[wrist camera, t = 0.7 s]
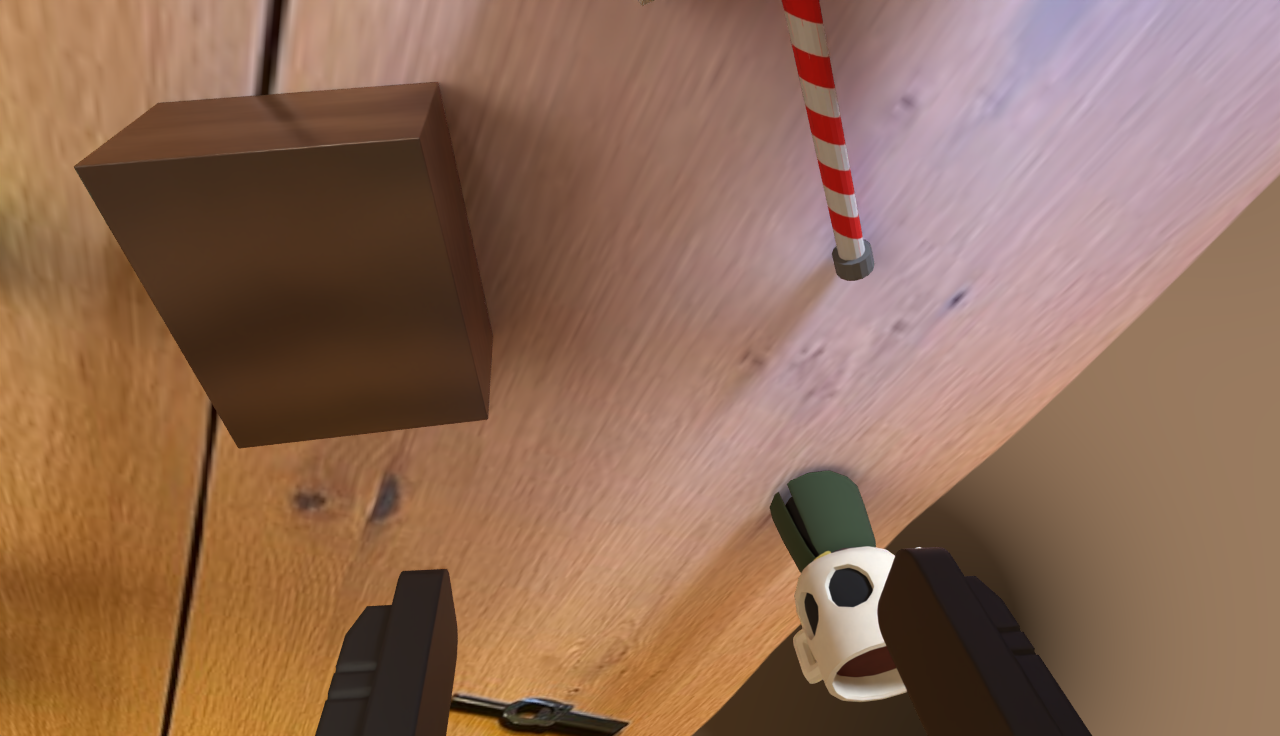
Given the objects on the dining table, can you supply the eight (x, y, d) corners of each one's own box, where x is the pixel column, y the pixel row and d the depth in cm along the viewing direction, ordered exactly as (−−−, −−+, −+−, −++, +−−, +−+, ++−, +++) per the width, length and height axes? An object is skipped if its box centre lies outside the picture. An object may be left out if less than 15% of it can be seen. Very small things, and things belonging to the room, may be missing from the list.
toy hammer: (957, 212, 35) (1029, 275, 30) (745, 302, 37) (780, 376, 32) (884, -400, 21) (997, -470, 16) (545, -205, 23) (552, -214, 18)
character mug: (831, 427, 44) (922, 606, 34) (900, 463, 47) (1002, 636, 37) (724, 524, 49) (776, 706, 39) (793, 551, 52) (858, 725, 42)
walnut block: (157, 102, 27) (72, 166, 22) (438, 81, 28) (419, 137, 23) (279, 359, 35) (238, 449, 30) (493, 336, 36) (488, 420, 31)
